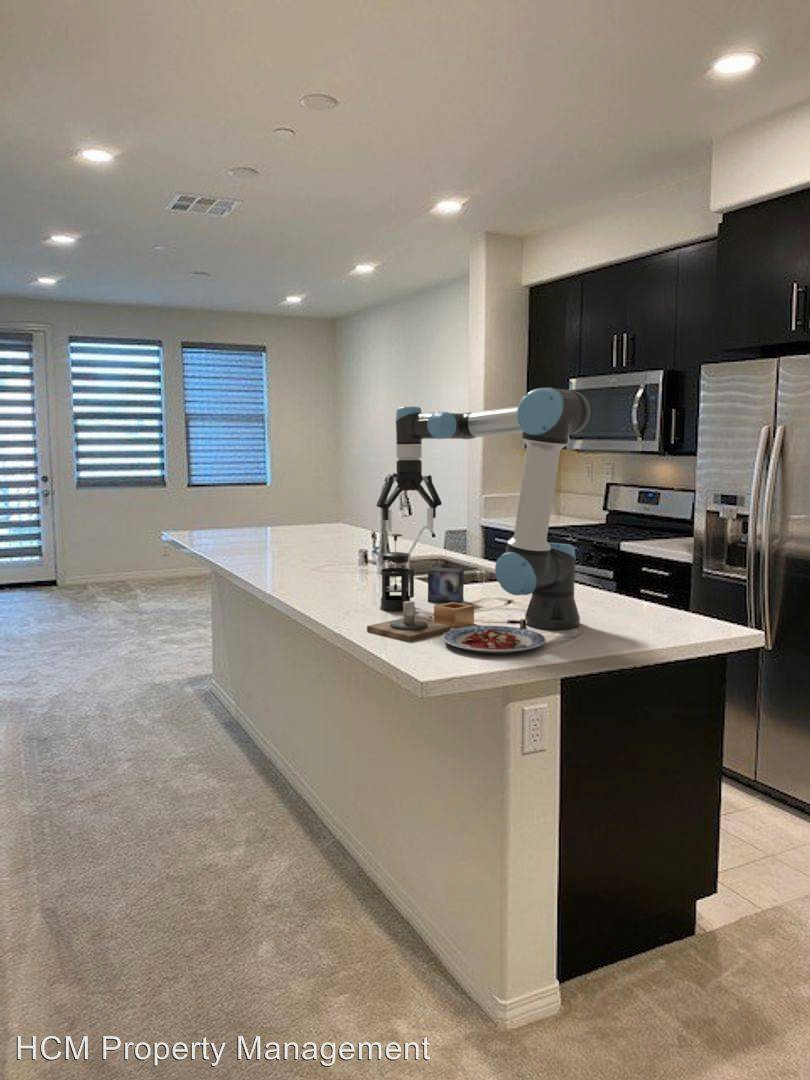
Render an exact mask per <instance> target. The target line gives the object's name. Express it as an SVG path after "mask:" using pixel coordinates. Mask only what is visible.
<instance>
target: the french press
mask: <svg viewBox="0 0 810 1080" xmlns="http://www.w3.org/2000/svg"><path fill="white" fill-rule="evenodd" d="M402 536H403V534H400V533H392V534H389V535H388V537H393V541H394V551H390V552H382V553H380V557H381V560H382V561H388V560H389V561H390V562H392V563H394V567H386V568H382V569H380V575H381V597H380V607H379V610H381V611H384V612H390V613H392V612H396V613H398V612H400V613H401V612H403V602H405V601H411V598H414V596H415V594H414V593H415V592H414V591H415V580H414V579H415V578H414V577H415V570H414V569H412V568H405V567H397V564H402V563H405V564H406V563H409V560H410V556H411V553H408V552H403V551H397V541H398V537H402ZM392 577H393V578H394V584H393V585H391V578H392ZM397 577H399V578H401V579H400V580H401V582H400V585H397ZM391 593H401V594H399V595H397V594H396V595H395V594H394V595H393V594H391Z"/></svg>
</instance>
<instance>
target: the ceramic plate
mask: <svg viewBox="0 0 810 1080" xmlns="http://www.w3.org/2000/svg"><path fill="white" fill-rule="evenodd" d="M442 640H443V641H444V642H445V643H446V644H448V645H449V646H453V647H456V648H458V649H459V648H460V649H464V650H467V651H470V652H475V653H480V654H490V653H494V654H497V655H498V654H499V655H500V654H502V653H504V654H512V653H519V652H522V651H526V650H531V649H535V648H538V647H540V646H542V645H544V643H546V637H545V636H544V635H543V634H541V633H539V632H536V631H533V630H530V629H526V628H520V627H513V626H504V625H475V626H462V627H457V628H454V629H451V631H448V632H446V633H443V634H442ZM518 651H519V652H518ZM494 654H493V655H494Z"/></svg>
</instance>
